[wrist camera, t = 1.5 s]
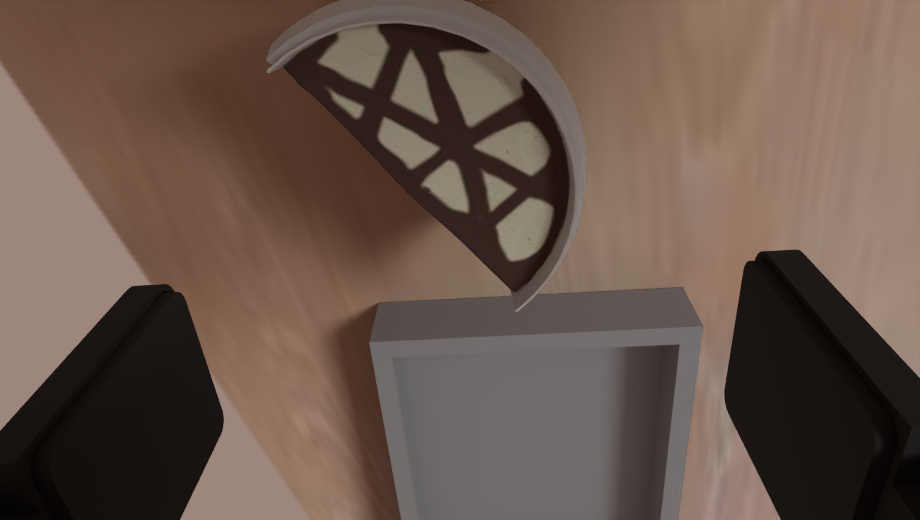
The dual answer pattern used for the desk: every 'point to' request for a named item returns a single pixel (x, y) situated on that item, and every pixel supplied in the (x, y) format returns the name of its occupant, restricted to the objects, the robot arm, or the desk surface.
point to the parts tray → (538, 404)
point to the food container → (454, 122)
